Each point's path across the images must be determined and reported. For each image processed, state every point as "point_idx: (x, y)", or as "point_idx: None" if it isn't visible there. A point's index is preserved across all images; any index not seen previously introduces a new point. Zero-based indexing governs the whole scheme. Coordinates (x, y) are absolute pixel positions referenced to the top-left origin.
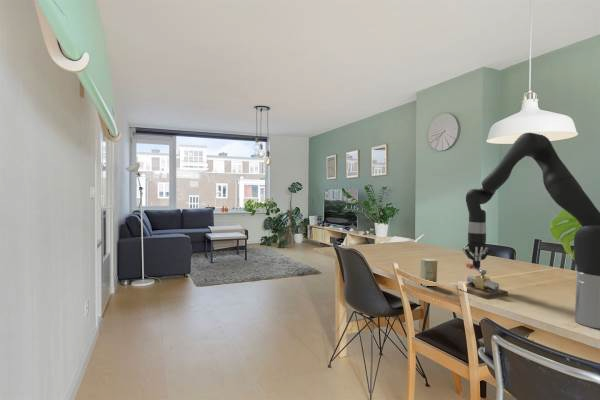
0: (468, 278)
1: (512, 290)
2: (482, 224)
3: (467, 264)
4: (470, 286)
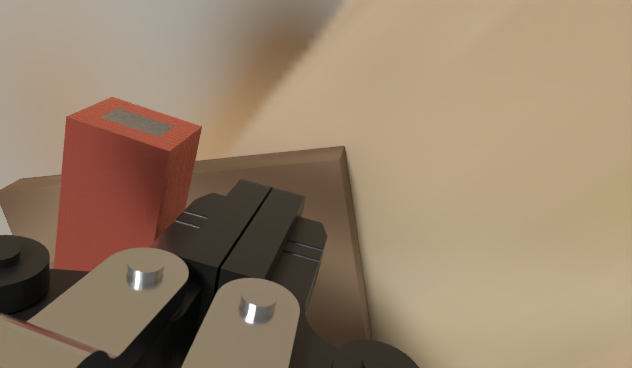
0: None
1: (590, 364)
2: None
3: (66, 172)
4: None
